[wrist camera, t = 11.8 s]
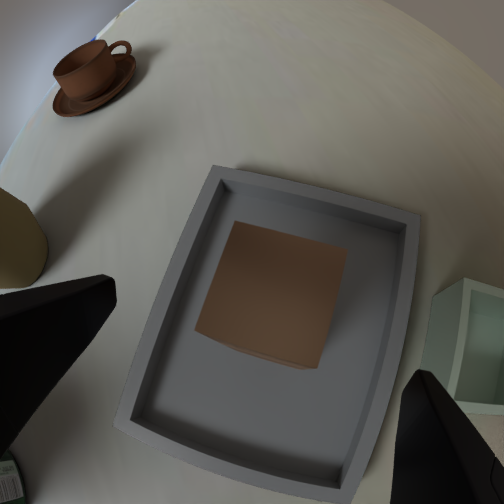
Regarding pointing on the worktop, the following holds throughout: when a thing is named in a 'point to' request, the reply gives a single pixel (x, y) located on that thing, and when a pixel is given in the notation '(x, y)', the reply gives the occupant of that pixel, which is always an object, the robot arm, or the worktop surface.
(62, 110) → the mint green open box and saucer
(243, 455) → the tray
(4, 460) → the coffee jar
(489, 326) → the mint green open box
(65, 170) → the worktop surface
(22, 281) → the squeeze bottle
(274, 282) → the square block
